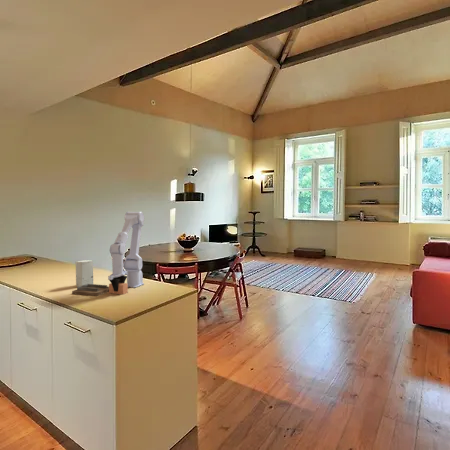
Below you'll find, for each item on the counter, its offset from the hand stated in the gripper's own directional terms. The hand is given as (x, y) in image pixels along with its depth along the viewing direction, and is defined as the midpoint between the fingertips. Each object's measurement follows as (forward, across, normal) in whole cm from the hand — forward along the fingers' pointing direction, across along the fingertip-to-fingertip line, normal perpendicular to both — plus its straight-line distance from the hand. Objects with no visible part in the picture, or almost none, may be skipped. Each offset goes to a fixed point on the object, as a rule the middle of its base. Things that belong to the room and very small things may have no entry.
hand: (118, 290), depth 181 cm
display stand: (+1, -2, +15) cm, 15 cm away
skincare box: (+2, +9, +30) cm, 31 cm away
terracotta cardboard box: (+1, 0, 0) cm, 1 cm away
